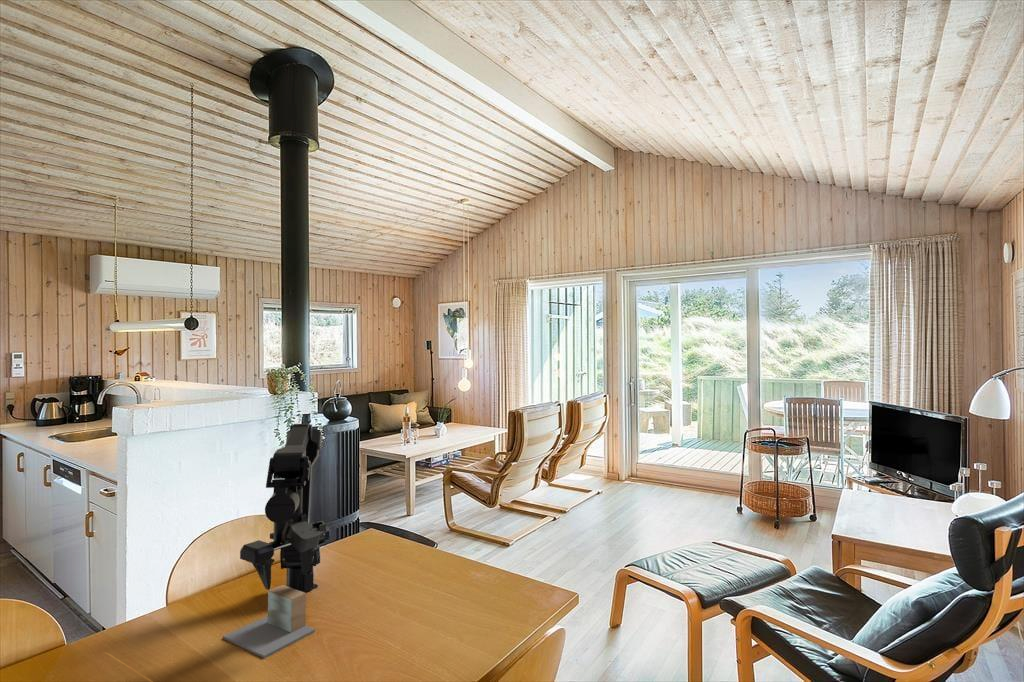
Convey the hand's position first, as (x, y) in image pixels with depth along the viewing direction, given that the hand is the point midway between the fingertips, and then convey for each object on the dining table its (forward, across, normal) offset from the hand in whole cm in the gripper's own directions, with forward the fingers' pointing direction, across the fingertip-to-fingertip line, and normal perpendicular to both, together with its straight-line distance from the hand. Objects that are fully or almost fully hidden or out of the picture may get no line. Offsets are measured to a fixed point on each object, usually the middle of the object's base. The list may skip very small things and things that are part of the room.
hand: (286, 581), depth 117 cm
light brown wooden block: (+9, 0, 0) cm, 9 cm away
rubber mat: (+10, -4, 0) cm, 11 cm away
